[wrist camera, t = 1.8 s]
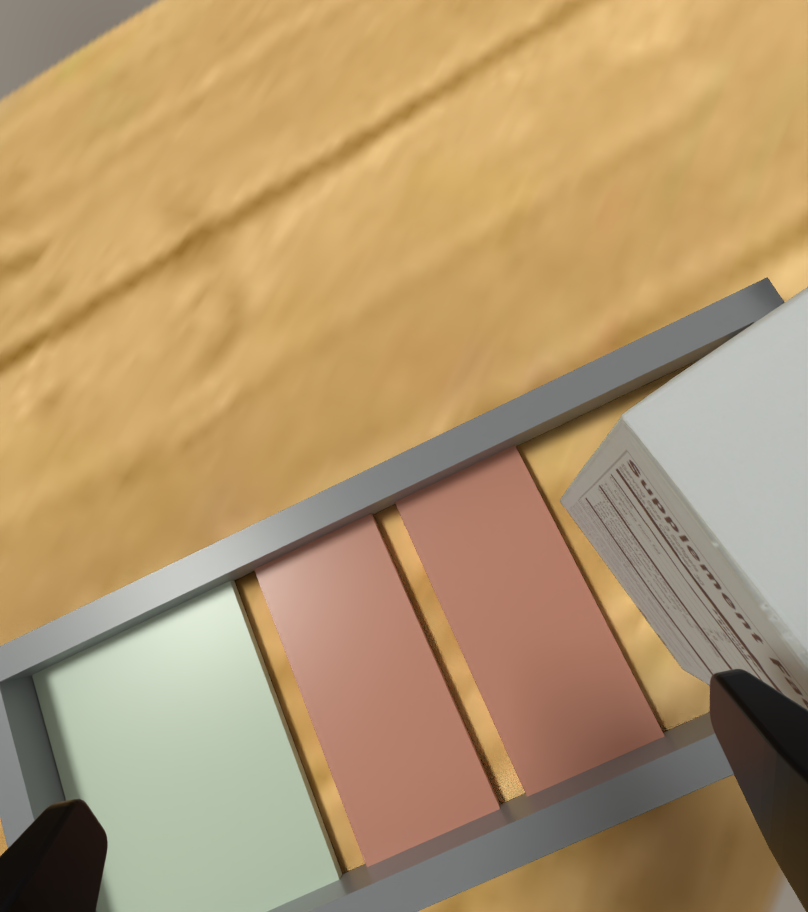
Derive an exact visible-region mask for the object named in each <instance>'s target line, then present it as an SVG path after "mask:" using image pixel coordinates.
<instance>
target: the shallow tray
mask: <svg viewBox="0 0 808 912" xmlns="http://www.w3.org/2000/svg"><path fill="white" fill-rule="evenodd" d="M783 303H784V301H783V300H782V298H781V297H780V295H779V294H778V292H777V291H776V289H775V288H774V286H773V285H772V283H771V282H770V280H769V279H768V277H767V278H765V279H763V280H761V281H759V282H757V283H755V284H752V285H750V286H748V287H746V288H744V289H742V290H740V291H738V292H736V293H734V294H732V295H730V296H728V297H725V298H723V299H721V300H719V301H717V302H715V303H713V304H711V305H709V306H707V307H705V308H703V309H701V310H698V311H696V312H694V313H692V314H690V315H688V316H686V317H684V318H682V319H680V320H678V321H676V322H673V323H671V324H669V325H667V326H665V327H663V328H661V329H659V330H657V331H655V332H653V333H651V334H649V335H646V336H644V337H642V338H640V339H638V340H636V341H634V342H632V343H630V344H628V345H626V346H624V347H622V348H619V349H617V350H615V351H613V352H611V353H609V354H607V355H605V356H603V357H601V358H599V359H597V360H594V361H592V362H590V363H588V364H586V365H584V366H582V367H580V368H578V369H576V370H574V371H572V372H570V373H567V374H565V375H563V376H561V377H559V378H557V379H555V380H553V381H551V382H549V383H547V384H545V385H542V386H540V387H538V388H536V389H534V390H532V391H530V392H528V393H526V394H524V395H522V396H520V397H518V398H515V399H513V400H511V401H509V402H507V403H505V404H503V405H501V406H499V407H497V408H495V409H493V410H491V411H488V412H486V413H484V414H482V415H480V416H478V417H476V418H474V419H472V420H470V421H468V422H466V423H463V424H461V425H459V426H457V427H455V428H453V429H451V430H449V431H447V432H445V433H443V434H441V435H439V436H436V437H434V438H432V439H430V440H428V441H426V442H424V443H422V444H420V445H418V446H416V447H414V448H411V449H409V450H407V451H405V452H403V453H401V454H399V455H397V456H395V457H393V458H391V459H389V460H387V461H384V462H382V463H380V464H378V465H376V466H374V467H372V468H370V469H368V470H366V471H364V472H362V473H360V474H357V475H355V476H353V477H351V478H349V479H347V480H345V481H343V482H341V483H339V484H337V485H335V486H332V487H330V488H328V489H326V490H324V491H322V492H320V493H318V494H316V495H314V496H312V497H310V498H308V499H305V500H303V501H301V502H299V503H297V504H295V505H293V506H291V507H289V508H287V509H285V510H283V511H281V512H278V513H276V514H274V515H272V516H270V517H268V518H266V519H264V520H262V521H260V522H258V523H256V524H253V525H251V526H249V527H247V528H245V529H243V530H241V531H239V532H237V533H235V534H233V535H231V536H229V537H226V538H224V539H222V540H220V541H218V542H216V543H214V544H212V545H210V546H208V547H206V548H204V549H201V550H199V551H197V552H195V553H193V554H191V555H189V556H187V557H185V558H183V559H181V560H179V561H177V562H174V563H172V564H170V565H168V566H166V567H164V568H162V569H160V570H158V571H156V572H154V573H152V574H150V575H147V576H145V577H143V578H141V579H139V580H137V581H135V582H133V583H131V584H129V585H127V586H125V587H122V588H120V589H118V590H116V591H114V592H112V593H110V594H108V595H106V596H104V597H102V598H100V599H98V600H95V601H93V602H91V603H89V604H87V605H85V606H83V607H81V608H79V609H77V610H75V611H73V612H71V613H68V614H66V615H64V616H62V617H60V618H58V619H56V620H54V621H52V622H50V623H48V624H46V625H43V626H41V627H39V628H37V629H35V630H33V631H31V632H29V633H27V634H25V635H23V636H21V637H19V638H16V639H14V640H12V641H10V642H8V643H6V644H4V645H2V646H0V818H1V822H2V826H3V830H4V834H5V839H6V843H7V847H8V848H9V847H10V846H11V845H12V844H13V843H14V842H15V840H16V839H17V838H18V837H19V836H20V835H21V834H22V833H23V832H24V831H25V830H26V829H27V828H28V827H29V826H30V825H31V824H32V823H33V822H34V821H35V820H36V818H37V817H38V816H39V815H40V814H41V813H42V812H43V811H44V810H45V809H46V808H47V807H49V806H50V805H52V804H54V803H57V802H61V801H66V800H71V799H82V800H84V801H85V802H86V803H87V805H88V806H89V808H90V809H91V811H92V812H93V814H94V815H95V816H96V818H97V819H98V821H99V822H100V824H101V825H102V827H103V828H104V830H105V832H106V835H107V841H108V848H107V855H106V860H105V866H104V871H103V876H102V881H101V887H100V892H99V897H98V902H97V907H96V912H417V911H419V910H422V909H424V908H426V907H428V906H431V905H433V904H435V903H438V902H440V901H442V900H445V899H447V898H449V897H452V896H454V895H456V894H458V893H461V892H463V891H465V890H468V889H470V888H472V887H475V886H477V885H479V884H481V883H484V882H486V881H488V880H491V879H493V878H495V877H498V876H500V875H502V874H505V873H507V872H509V871H511V870H514V869H516V868H518V867H521V866H523V865H525V864H528V863H530V862H532V861H535V860H537V859H539V858H541V857H544V856H546V855H548V854H551V853H553V852H555V851H558V850H560V849H562V848H565V847H567V846H569V845H571V844H574V843H576V842H578V841H581V840H583V839H585V838H588V837H590V836H592V835H594V834H597V833H599V832H601V831H604V830H606V829H608V828H611V827H613V826H615V825H618V824H620V823H622V822H624V821H627V820H629V819H631V818H634V817H636V816H638V815H641V814H643V813H645V812H648V811H650V810H652V809H654V808H657V807H659V806H661V805H664V804H666V803H668V802H671V801H673V800H675V799H677V798H680V797H682V796H684V795H687V794H689V793H691V792H694V791H696V790H698V789H701V788H703V787H705V786H707V785H710V784H712V783H714V782H717V781H719V780H721V779H724V778H726V777H728V776H731V775H733V774H734V773H733V771H732V769H731V767H730V764H729V762H728V760H727V758H726V756H725V754H724V752H723V749H722V747H721V745H720V743H719V741H718V739H717V737H716V735H715V732H714V730H713V727H712V724H711V719H710V712H709V713H707V714H704V715H702V716H700V717H697V718H695V719H693V720H691V721H688V722H686V723H684V724H682V725H679V726H677V727H675V728H673V729H670V730H668V731H666V732H662V730H661V728H660V726H659V724H658V722H657V720H656V718H655V716H654V714H653V712H652V710H651V708H650V707H649V705H648V703H647V701H646V699H645V697H644V695H643V693H642V691H641V689H640V687H639V685H638V683H637V681H636V679H635V677H634V675H633V674H632V672H631V670H630V668H629V666H628V664H627V662H626V660H625V658H624V656H623V654H622V652H621V650H620V648H619V646H618V644H617V642H616V640H615V639H614V637H613V635H612V633H611V631H610V629H609V627H608V625H607V623H606V621H605V619H604V617H603V615H602V613H601V611H600V609H599V607H598V606H597V604H596V602H595V600H594V598H593V596H592V594H591V592H590V590H589V588H588V586H587V584H586V582H585V580H584V578H583V576H582V574H581V573H580V571H579V569H578V567H577V565H576V563H575V561H574V559H573V557H572V555H571V553H570V551H569V549H568V547H567V545H566V543H565V541H564V540H563V538H562V536H561V534H560V532H559V530H558V528H557V526H556V524H555V522H554V520H553V518H552V516H551V514H550V512H549V510H548V508H547V507H546V505H545V503H544V501H543V499H542V497H541V495H540V493H539V491H538V489H537V487H536V485H535V483H534V481H533V479H532V477H531V475H530V474H529V472H528V470H527V468H526V466H525V464H524V462H523V460H522V458H521V456H520V454H519V452H518V450H517V448H516V446H518V445H520V444H522V443H524V442H526V441H528V440H531V439H533V438H535V437H537V436H539V435H541V434H543V433H545V432H547V431H549V430H552V429H554V428H556V427H558V426H560V425H562V424H564V423H566V422H568V421H570V420H573V419H575V418H577V417H579V416H581V415H583V414H585V413H587V412H589V411H591V410H594V409H596V408H598V407H600V406H602V405H604V404H606V403H608V402H610V401H612V400H615V399H617V398H619V397H621V396H623V395H625V394H627V393H629V392H631V391H633V390H636V389H638V388H640V387H642V386H644V385H646V384H648V383H650V382H652V381H654V380H657V379H659V378H661V377H663V376H665V375H667V374H669V373H671V372H673V371H675V370H678V369H680V368H682V367H684V366H686V365H688V364H690V363H692V362H694V361H696V360H699V359H701V358H703V357H705V356H706V355H708V354H709V353H711V352H712V351H714V350H715V349H717V348H718V347H720V346H721V345H722V344H724V343H725V342H727V341H728V340H730V339H731V338H733V337H734V336H736V335H737V334H739V333H740V332H742V331H743V330H745V329H746V328H748V327H749V326H751V325H752V324H754V323H755V322H757V321H758V320H759V319H761V318H762V317H764V316H765V315H767V314H768V313H770V312H771V311H773V310H774V309H776V308H777V307H779V306H780V305H782V304H783ZM394 504H396V507H397V509H398V511H399V513H400V516H401V518H402V520H403V522H404V524H405V527H406V529H407V531H408V533H409V535H410V538H411V540H412V542H413V544H414V547H415V549H416V551H417V553H418V555H419V558H420V560H421V562H422V564H423V567H424V569H425V571H426V573H427V575H428V578H429V580H430V582H431V584H432V587H433V589H434V591H435V593H436V595H437V598H438V600H439V602H440V604H441V607H442V609H443V611H444V613H445V615H446V618H447V620H448V622H449V624H450V626H451V629H452V631H453V633H454V635H455V638H456V640H457V642H458V644H459V646H460V649H461V651H462V653H463V655H464V658H465V660H466V662H467V664H468V666H469V669H470V671H471V673H472V675H473V678H474V680H475V682H476V684H477V686H478V689H479V691H480V693H481V695H482V698H483V700H484V702H485V704H486V706H487V709H488V711H489V713H490V715H491V718H492V720H493V722H494V724H495V726H496V729H497V731H498V733H499V735H500V737H501V740H502V742H503V744H504V746H505V749H506V751H507V753H508V755H509V757H510V760H511V762H512V764H513V766H514V769H515V771H516V773H517V775H518V777H519V780H520V782H521V784H522V786H523V789H524V791H525V794H523V795H521V796H518V797H516V798H514V799H511V800H509V801H507V802H505V803H502V804H500V803H499V801H498V798H497V796H496V794H495V792H494V789H493V787H492V785H491V782H490V780H489V778H488V776H487V773H486V771H485V769H484V766H483V764H482V762H481V760H480V757H479V755H478V753H477V751H476V748H475V746H474V744H473V741H472V739H471V737H470V735H469V732H468V730H467V728H466V725H465V723H464V721H463V719H462V716H461V714H460V712H459V710H458V707H457V705H456V703H455V700H454V698H453V696H452V694H451V691H450V689H449V687H448V684H447V682H446V680H445V678H444V675H443V673H442V671H441V669H440V666H439V664H438V662H437V659H436V657H435V655H434V653H433V650H432V648H431V646H430V643H429V641H428V639H427V637H426V634H425V632H424V630H423V627H422V625H421V623H420V621H419V618H418V616H417V614H416V612H415V609H414V607H413V605H412V602H411V600H410V598H409V596H408V593H407V591H406V589H405V586H404V584H403V582H402V580H401V577H400V575H399V573H398V571H397V568H396V566H395V564H394V561H393V559H392V557H391V555H390V552H389V550H388V548H387V545H386V543H385V541H384V539H383V536H382V534H381V532H380V530H379V527H378V525H377V523H376V520H375V518H374V516H373V514H375V513H377V512H379V511H381V510H384V509H386V508H388V507H390V506H392V505H394ZM253 571H255V573H256V576H257V578H258V581H259V584H260V586H261V589H262V592H263V594H264V597H265V600H266V602H267V605H268V607H269V610H270V613H271V615H272V618H273V621H274V623H275V626H276V629H277V631H278V634H279V636H280V639H281V642H282V644H283V647H284V650H285V652H286V655H287V658H288V660H289V663H290V666H291V668H292V671H293V673H294V676H295V679H296V681H297V684H298V687H299V689H300V692H301V695H302V697H303V700H304V702H305V705H306V708H307V710H308V713H309V716H310V718H311V721H312V724H313V726H314V729H315V731H316V734H317V737H318V739H319V742H320V745H321V747H322V750H323V753H324V755H325V758H326V761H327V763H328V766H329V768H330V771H331V774H332V776H333V779H334V782H335V784H336V787H337V790H338V792H339V795H340V797H341V800H342V803H343V805H344V808H345V811H346V813H347V816H348V819H349V821H350V824H351V826H352V829H353V832H354V834H355V837H356V840H357V842H358V845H359V848H360V850H361V853H362V856H363V858H364V861H365V863H366V864H364V865H362V866H359V867H357V868H355V869H353V870H350V871H348V872H346V873H344V874H342V872H341V869H340V866H339V863H338V861H337V858H336V855H335V853H334V850H333V847H332V844H331V842H330V839H329V836H328V834H327V831H326V828H325V825H324V823H323V820H322V817H321V815H320V812H319V809H318V806H317V804H316V801H315V798H314V796H313V793H312V790H311V788H310V785H309V782H308V779H307V777H306V774H305V771H304V769H303V766H302V763H301V760H300V758H299V755H298V752H297V750H296V747H295V744H294V741H293V739H292V736H291V733H290V731H289V728H288V725H287V722H286V720H285V717H284V714H283V712H282V709H281V706H280V703H279V701H278V698H277V695H276V693H275V690H274V687H273V684H272V682H271V679H270V676H269V674H268V671H267V668H266V666H265V663H264V660H263V657H262V655H261V652H260V649H259V647H258V644H257V641H256V638H255V636H254V633H253V630H252V628H251V625H250V622H249V619H248V617H247V614H246V611H245V609H244V606H243V603H242V600H241V598H240V595H239V592H238V590H237V587H236V584H235V581H234V580H236V579H239V578H241V577H243V576H245V575H247V574H249V573H251V572H253Z"/></svg>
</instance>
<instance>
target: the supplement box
mask: <svg viewBox="0 0 808 912" xmlns="http://www.w3.org/2000/svg"><path fill="white" fill-rule="evenodd" d="M560 502H561V504H562V505H563V507H564V508H565V509H566V510H567V512H568V513H569V514H570V516H571V517H572V518H573V520H574V521H575V522H576V524H577V525H578V527H579V528H580V529H581V531H582V532H583V533H584V535H585V536H586V537H587V539H588V540H589V542H590V543H591V544H592V546H593V547H594V548H595V550H596V551H597V552H598V554H599V555H600V557H601V558H602V559H603V561H604V562H605V564H606V565H607V566H608V568H609V569H610V570H611V572H612V573H613V575H614V576H615V577H616V579H617V580H618V581H619V583H620V584H621V586H622V587H623V588H624V590H625V591H626V593H627V594H628V595H629V597H630V598H631V599H632V601H633V602H634V604H635V605H636V606H637V608H638V609H639V610H640V612H641V613H642V615H643V616H644V617H645V619H646V620H647V621H648V623H649V624H650V626H651V627H652V628H653V630H654V631H655V633H656V634H657V635H658V637H659V638H660V639H661V641H662V642H663V644H664V645H665V646H666V648H667V649H668V650H669V652H670V653H671V654H672V656H673V657H674V658H675V660H676V661H677V663H678V664H679V665H680V666H681V668H682V669H683V670H685V671H686V672H688V673H690V674H692V675H693V676H695V677H697V678H699V679H700V680H702V681H704V682H705V683H707V684H708V685H710V679H711V676H712V675H713V674H714V673H718V672H723V671H728V670H733V669H743V670H745V671H748V672H749V673H751V674H752V675H754V676H756V677H757V678H759V679H760V680H762V681H763V682H765V683H767V684H768V685H770V686H771V687H773V688H774V689H776V690H777V691H779V692H781V693H782V694H784V695H785V696H787V697H788V698H790V699H791V700H793V701H795V702H796V703H798V704H799V705H801V706H802V707H804V708H806V709H807V710H808V287H807V288H805V289H804V290H802V291H801V292H800V293H798V294H797V295H795V296H794V297H792V298H791V299H789V300H788V301H786V302H785V303H783V304H782V305H780V306H779V307H777V308H776V309H774V310H773V311H771V312H770V313H768V314H767V315H765V316H764V317H762V318H761V319H759V320H758V321H757V322H755V323H754V324H752V325H751V326H749V327H748V328H746V329H745V330H743V331H742V332H740V333H739V334H737V335H736V336H734V337H733V338H731V339H730V340H728V341H727V342H725V343H724V344H722V345H721V346H720V347H718V348H717V349H715V350H714V351H712V352H711V353H709V354H708V355H706V356H705V357H703V358H702V359H700V360H699V361H697V362H696V363H694V364H693V365H691V366H690V367H688V368H687V369H686V370H684V371H683V372H681V373H680V374H678V375H677V376H675V377H674V378H672V379H671V380H670V381H668V382H667V383H665V384H664V385H662V386H661V387H660V388H658V389H657V390H655V391H654V392H653V393H651V394H650V395H648V396H647V397H646V398H644V399H643V400H641V401H640V402H638V403H637V404H636V405H634V406H633V407H631V408H630V409H629V410H627V411H626V412H625V413H624V414H622V415H621V418H620V419H619V420H618V422H617V423H616V425H615V426H614V427H613V429H612V430H611V431H610V432H609V433H608V435H607V437H606V438H605V439H604V441H603V442H602V443H601V445H600V446H599V448H598V449H597V450H596V451H595V453H594V454H593V455H592V456H591V458H590V459H589V460H588V461H587V463H586V464H585V465H584V467H583V468H582V470H581V471H580V472H579V474H578V475H577V477H576V478H575V479H574V481H573V482H572V483H571V485H570V486H569V488H568V489H567V490H566V492H565V494H564V495H563V496H562V498H561V500H560Z"/></svg>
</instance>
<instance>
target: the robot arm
mask: <svg viewBox="0 0 808 912" xmlns="http://www.w3.org/2000/svg"><path fill="white" fill-rule="evenodd" d="M710 719H711V724H712V727H713V730H714V732H715V735H716V737H717V739H718V741H719V743H720V745H721V747H722V749H723V752H724V754H725V756H726V758H727V760H728V762H729V764H730V767H731V769H732V771H733V773H734V775H735V777H736V779H737V781H738V784H739V786H740V788H741V790H742V792H743V794H744V796H745V798H746V801H747V803H748V805H749V807H750V809H751V811H752V813H753V815H754V818H755V820H756V822H757V824H758V826H759V828H760V830H761V832H762V834H763V836H764V838H765V840H766V842H767V844H768V847H769V848H770V850H771V852H772V854H773V856H774V857H775V859H776V861H777V863H778V865H779V866H780V868H781V870H782V871H783V873H784V875H785V877H786V878H787V880H788V882H789V883H790V885H791V887H792V888H793V890H794V891H795V893H796V895H797V897H798V898H799V900H800V901H801V903H802V905H803V907H804V908H805V910H806V912H808V710H807V709H806V708H804V707H802V706H801V705H799V704H798V703H796V702H795V701H793V700H791V699H790V698H788V697H787V696H785V695H784V694H782V693H781V692H779V691H777V690H776V689H774V688H773V687H771V686H770V685H768V684H767V683H765V682H763V681H762V680H760V679H759V678H757V677H756V676H754V675H752V674H751V673H749V672H748V671H745V670H743V669H733V670H728V671H723V672H718V673H714V674H713V675H712V676H711V679H710ZM107 848H108V841H107V835H106V832H105V830H104V828H103V827H102V825H101V824H100V822H99V821H98V819H97V818H96V816H95V815H94V814H93V812H92V811H91V809H90V808H89V806H88V805H87V803H86V802H85V801H84V800H82V799H71V800H66V801H61V802H57V803H54V804H52V805H50V806H49V807H47V808H46V809H45V810H44V811H43V812H42V813H41V814H40V815H39V816H38V817H37V818H36V820H35V821H34V822H33V823H32V824H31V825H30V826H29V827H28V828H27V829H26V830H25V831H24V832H23V833H22V834H21V835H20V836H19V837H18V838H17V839H16V840H15V842H14V843H13V844H12V845H11V846H10V847H9V848H8V849H7V850H6V851H5V852H4V853H3V854H2V855H1V856H0V912H96V907H97V902H98V897H99V892H100V887H101V881H102V876H103V871H104V866H105V860H106V855H107Z"/></svg>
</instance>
